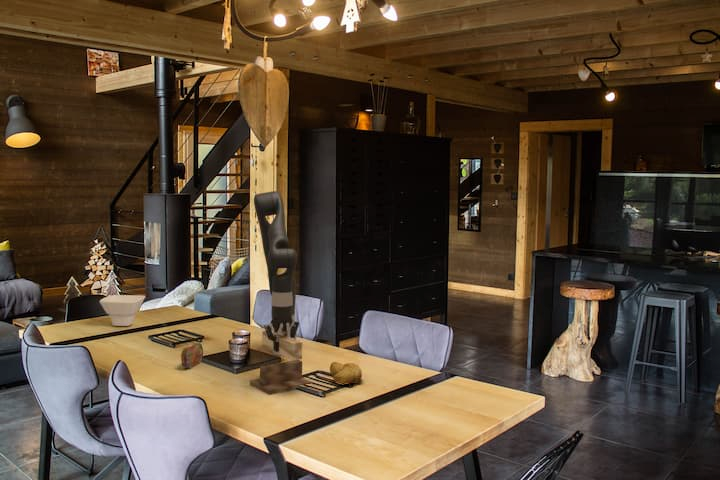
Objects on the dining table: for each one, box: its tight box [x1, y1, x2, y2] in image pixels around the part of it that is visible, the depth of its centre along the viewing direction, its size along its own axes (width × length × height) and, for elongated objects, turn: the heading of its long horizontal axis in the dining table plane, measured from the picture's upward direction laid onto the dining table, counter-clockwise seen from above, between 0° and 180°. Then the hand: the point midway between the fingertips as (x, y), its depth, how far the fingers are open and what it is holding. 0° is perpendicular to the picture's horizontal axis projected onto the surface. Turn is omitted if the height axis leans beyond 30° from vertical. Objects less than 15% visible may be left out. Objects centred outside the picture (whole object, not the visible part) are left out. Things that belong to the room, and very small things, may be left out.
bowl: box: [99, 294, 146, 327], centre depth 332 cm, size 19×19×14 cm
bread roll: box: [329, 361, 363, 384], centre depth 246 cm, size 13×10×8 cm
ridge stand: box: [249, 359, 313, 395], centre depth 241 cm, size 18×14×8 cm
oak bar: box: [261, 330, 303, 361], centre depth 240 cm, size 4×22×6 cm, turn 38°
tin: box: [180, 342, 204, 369], centre depth 264 cm, size 15×3×8 cm, turn 168°
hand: (281, 350), depth 240 cm, fingers closed on oak bar, 3 cm apart
